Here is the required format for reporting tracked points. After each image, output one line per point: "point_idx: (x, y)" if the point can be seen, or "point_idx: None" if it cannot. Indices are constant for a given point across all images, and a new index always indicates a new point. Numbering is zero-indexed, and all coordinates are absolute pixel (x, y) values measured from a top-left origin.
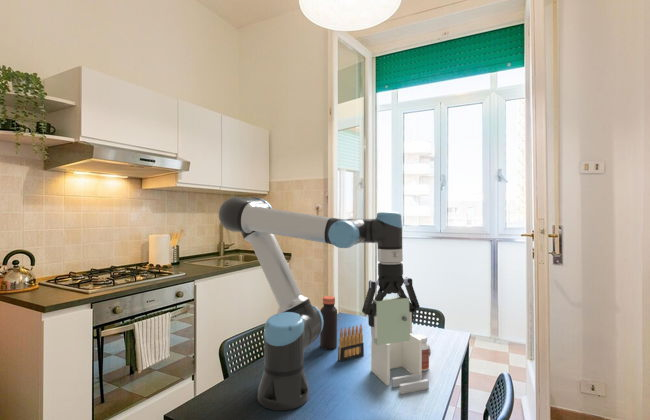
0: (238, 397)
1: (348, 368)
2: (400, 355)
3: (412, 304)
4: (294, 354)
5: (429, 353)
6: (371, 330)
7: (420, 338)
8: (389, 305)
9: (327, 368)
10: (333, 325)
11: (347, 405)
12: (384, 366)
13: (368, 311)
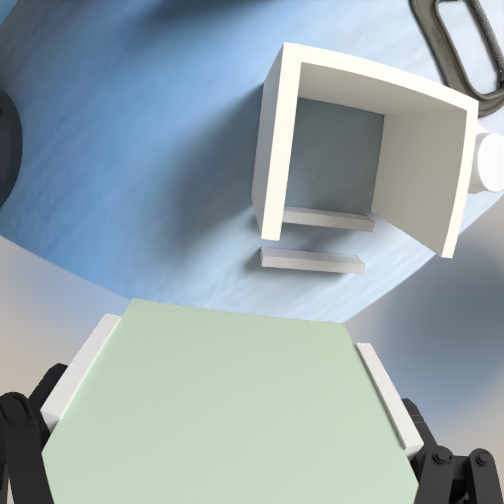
0: None
1: (193, 38)
2: (395, 110)
3: (463, 480)
4: None
5: (496, 110)
6: (93, 334)
7: (484, 182)
8: None
9: (126, 19)
10: None
11: (89, 243)
12: (256, 187)
13: (2, 467)
